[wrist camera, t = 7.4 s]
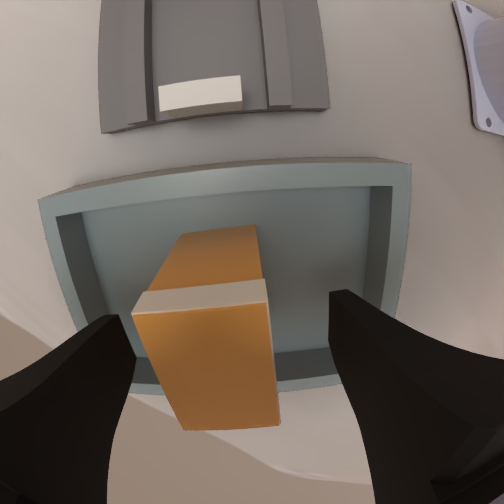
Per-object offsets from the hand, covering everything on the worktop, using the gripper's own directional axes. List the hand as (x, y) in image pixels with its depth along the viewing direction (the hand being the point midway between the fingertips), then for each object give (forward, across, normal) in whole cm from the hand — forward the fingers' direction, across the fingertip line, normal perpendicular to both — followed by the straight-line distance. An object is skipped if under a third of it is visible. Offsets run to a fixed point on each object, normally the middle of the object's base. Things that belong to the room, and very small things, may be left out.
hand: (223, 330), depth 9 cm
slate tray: (+4, 0, 0) cm, 4 cm away
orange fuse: (+3, 0, 0) cm, 3 cm away
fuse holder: (+4, -1, -14) cm, 15 cm away
